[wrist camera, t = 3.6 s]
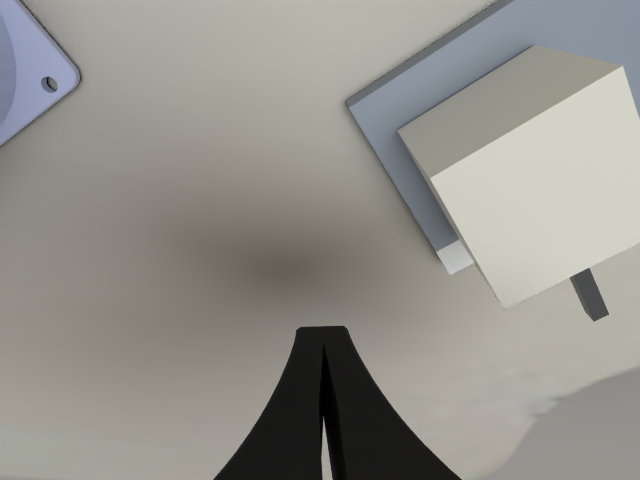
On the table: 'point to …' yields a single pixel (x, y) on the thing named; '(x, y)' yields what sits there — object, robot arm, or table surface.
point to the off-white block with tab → (537, 171)
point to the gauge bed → (471, 65)
